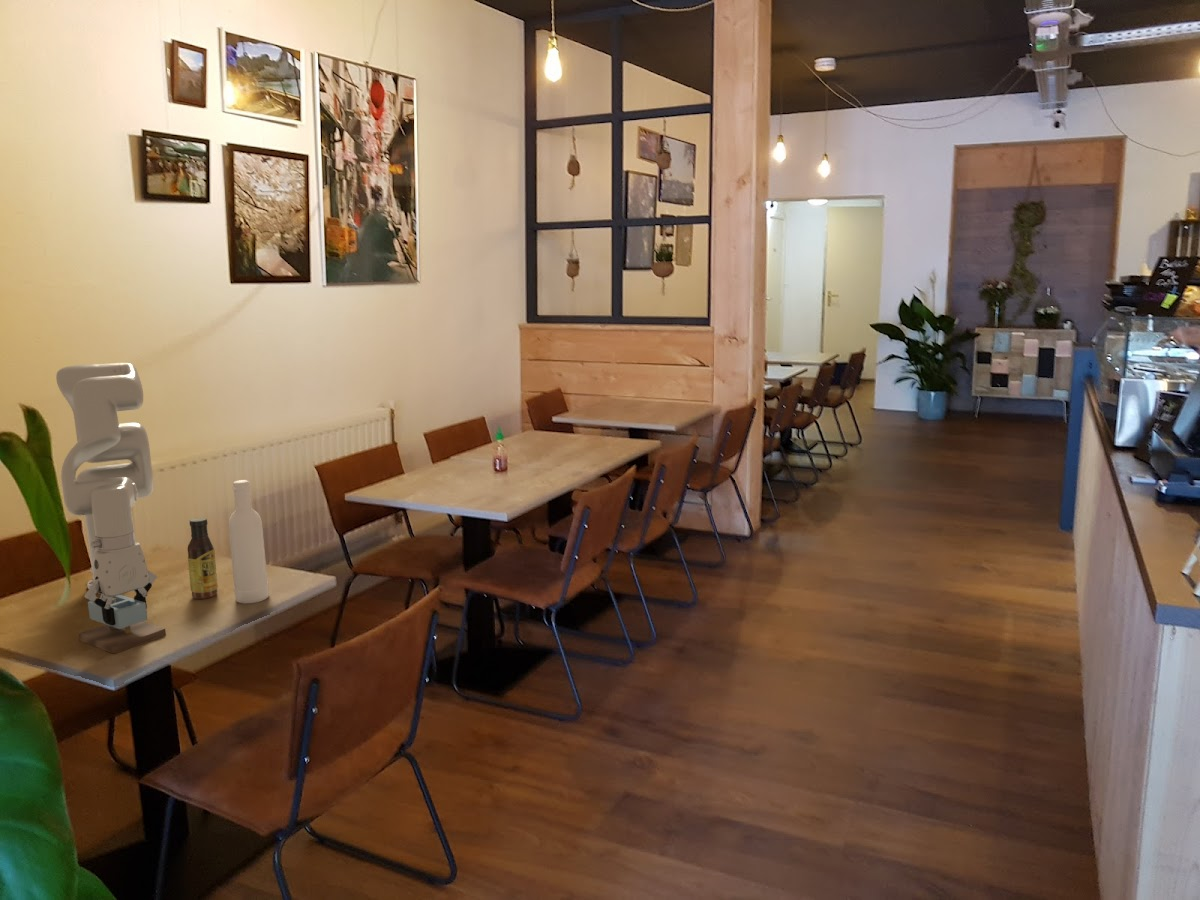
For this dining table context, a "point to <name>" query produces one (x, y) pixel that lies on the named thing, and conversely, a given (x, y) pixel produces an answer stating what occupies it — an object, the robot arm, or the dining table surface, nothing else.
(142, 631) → the post block
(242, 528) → the bottle
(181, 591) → the dining table surface
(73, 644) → the dining table surface
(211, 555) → the sauce bottle
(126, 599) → the hollow blue brick
